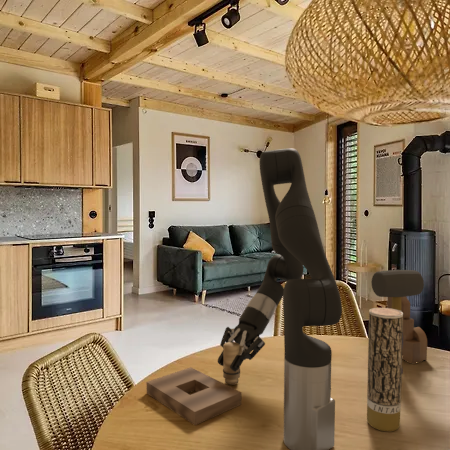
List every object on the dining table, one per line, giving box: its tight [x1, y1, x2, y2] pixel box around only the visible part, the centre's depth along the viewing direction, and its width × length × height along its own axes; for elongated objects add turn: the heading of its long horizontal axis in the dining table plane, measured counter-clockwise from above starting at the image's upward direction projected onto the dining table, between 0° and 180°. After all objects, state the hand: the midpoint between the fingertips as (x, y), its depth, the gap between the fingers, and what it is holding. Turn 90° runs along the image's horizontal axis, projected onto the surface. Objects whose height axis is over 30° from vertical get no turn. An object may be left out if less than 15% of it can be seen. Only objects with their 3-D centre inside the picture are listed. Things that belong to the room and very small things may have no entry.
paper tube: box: [366, 307, 403, 432], centre depth 90 cm, size 7×7×25 cm
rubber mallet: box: [371, 269, 425, 376], centre depth 114 cm, size 12×8×30 cm, turn 102°
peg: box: [222, 341, 241, 386], centre depth 110 cm, size 5×5×10 cm
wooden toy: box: [386, 296, 428, 364], centre depth 131 cm, size 16×7×25 cm, turn 25°
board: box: [146, 366, 242, 426], centre depth 102 cm, size 20×14×3 cm
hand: (226, 366), depth 109 cm, fingers closed on peg, 4 cm apart
